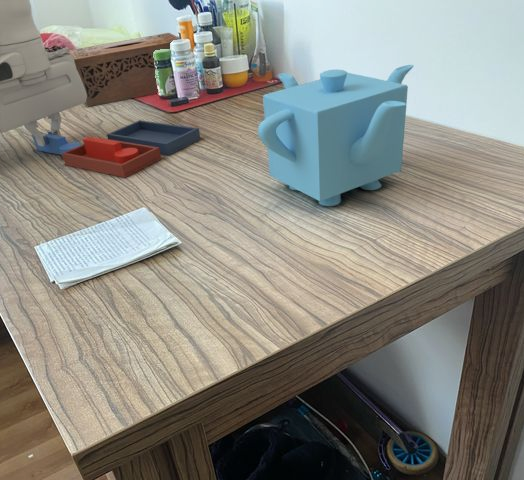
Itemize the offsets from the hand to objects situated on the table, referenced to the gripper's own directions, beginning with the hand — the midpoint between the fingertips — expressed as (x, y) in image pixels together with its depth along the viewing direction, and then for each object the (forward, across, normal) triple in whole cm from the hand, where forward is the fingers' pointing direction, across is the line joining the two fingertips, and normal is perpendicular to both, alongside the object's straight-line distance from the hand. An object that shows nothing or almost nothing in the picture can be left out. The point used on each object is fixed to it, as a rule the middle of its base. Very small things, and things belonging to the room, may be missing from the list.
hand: (50, 142), depth 96 cm
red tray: (+2, 0, +16) cm, 16 cm away
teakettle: (+2, -7, +58) cm, 58 cm away
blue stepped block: (+2, 0, +2) cm, 2 cm away
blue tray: (+2, -11, +16) cm, 20 cm away
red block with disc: (+1, -1, +16) cm, 16 cm away
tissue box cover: (+2, -39, -18) cm, 43 cm away
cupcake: (+2, -36, -42) cm, 56 cm away
